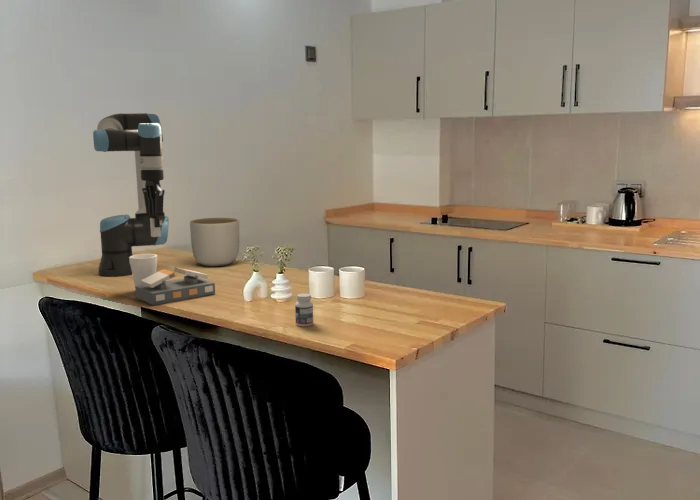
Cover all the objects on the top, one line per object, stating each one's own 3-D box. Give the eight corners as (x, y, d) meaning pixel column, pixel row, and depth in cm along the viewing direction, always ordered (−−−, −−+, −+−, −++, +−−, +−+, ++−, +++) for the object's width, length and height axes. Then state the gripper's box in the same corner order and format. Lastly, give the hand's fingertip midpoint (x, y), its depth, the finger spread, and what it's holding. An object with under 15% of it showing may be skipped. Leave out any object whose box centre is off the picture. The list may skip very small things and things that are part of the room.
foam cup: (161, 292, 233) (159, 257, 230) (135, 296, 228) (133, 259, 226) (155, 287, 241) (152, 253, 238) (129, 290, 236) (126, 255, 234)
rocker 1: (142, 285, 224) (140, 280, 223) (165, 274, 229) (163, 268, 228) (152, 289, 218) (150, 284, 217) (176, 277, 223) (174, 272, 222)
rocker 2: (173, 272, 231) (174, 267, 231) (195, 276, 237) (197, 271, 237) (184, 276, 225) (185, 270, 225) (207, 280, 231) (208, 275, 231)
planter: (235, 268, 274) (234, 223, 270) (186, 268, 274) (184, 224, 271) (244, 259, 294) (242, 217, 291) (198, 259, 294) (196, 217, 291)
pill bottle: (295, 321, 195) (294, 293, 194) (313, 321, 196) (312, 292, 194) (295, 326, 190) (295, 297, 189) (313, 326, 191) (313, 296, 189)
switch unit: (136, 297, 226) (135, 281, 225) (196, 287, 241) (195, 272, 240) (153, 305, 215) (152, 288, 214) (215, 294, 230) (214, 278, 229)
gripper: (133, 168, 228) (137, 235, 232) (149, 169, 217) (154, 239, 221) (153, 167, 232) (157, 233, 236) (170, 169, 222) (174, 237, 226)
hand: (155, 236), depth 229 cm, fingers closed
